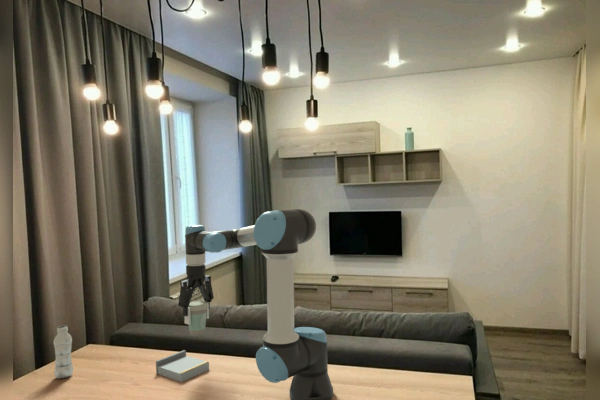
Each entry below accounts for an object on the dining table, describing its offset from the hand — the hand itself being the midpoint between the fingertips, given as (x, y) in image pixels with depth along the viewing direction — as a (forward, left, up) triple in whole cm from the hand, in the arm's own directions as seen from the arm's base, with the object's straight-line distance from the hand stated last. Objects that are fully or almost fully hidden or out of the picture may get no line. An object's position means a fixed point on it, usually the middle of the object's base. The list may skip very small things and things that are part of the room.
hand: (196, 320), depth 177 cm
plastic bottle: (+42, +32, -21) cm, 57 cm away
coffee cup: (0, 0, -5) cm, 5 cm away
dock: (+5, +3, -20) cm, 21 cm away
